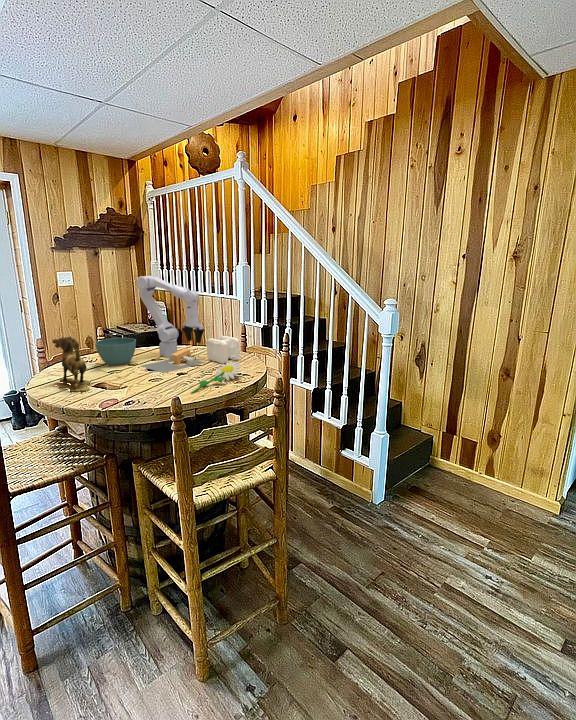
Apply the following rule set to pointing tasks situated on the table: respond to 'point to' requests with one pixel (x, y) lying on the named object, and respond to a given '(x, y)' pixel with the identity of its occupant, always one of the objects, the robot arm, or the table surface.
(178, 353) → the orange arch block
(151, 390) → the table surface
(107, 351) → the plant pot
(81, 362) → the figurine
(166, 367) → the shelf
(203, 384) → the decorative flower
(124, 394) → the table surface
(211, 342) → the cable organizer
